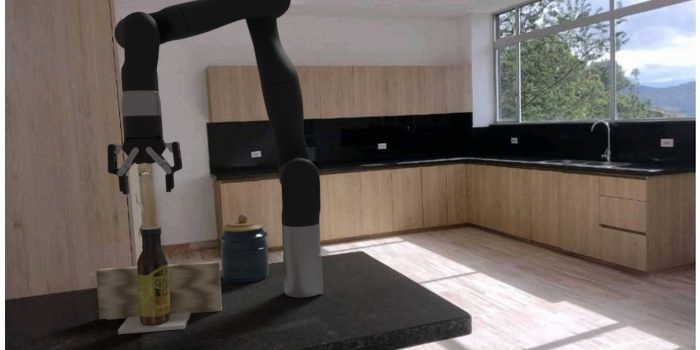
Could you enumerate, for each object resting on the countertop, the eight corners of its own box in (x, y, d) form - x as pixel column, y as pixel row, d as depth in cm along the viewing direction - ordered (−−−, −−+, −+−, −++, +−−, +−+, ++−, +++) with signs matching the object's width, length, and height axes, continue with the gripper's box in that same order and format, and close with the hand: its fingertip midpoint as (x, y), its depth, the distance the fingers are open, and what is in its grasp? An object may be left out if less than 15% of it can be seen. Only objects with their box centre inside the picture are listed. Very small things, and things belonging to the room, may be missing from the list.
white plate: (190, 315, 118) (190, 312, 118) (184, 328, 110) (184, 325, 110) (128, 320, 117) (128, 316, 116) (118, 334, 109) (117, 330, 109)
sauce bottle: (160, 327, 110) (154, 231, 108) (133, 325, 111) (126, 230, 109) (177, 315, 116) (171, 225, 114) (150, 314, 117) (145, 225, 116)
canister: (264, 283, 142) (261, 217, 140) (215, 284, 142) (212, 218, 141) (273, 270, 155) (270, 209, 153) (228, 271, 155) (225, 210, 154)
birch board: (221, 308, 122) (219, 261, 122) (221, 310, 121) (218, 262, 120) (102, 317, 119) (98, 268, 118) (99, 320, 117) (96, 270, 116)
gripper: (181, 113, 114) (185, 189, 116) (111, 115, 112) (116, 192, 114) (174, 112, 107) (179, 193, 108) (99, 114, 105) (105, 197, 106)
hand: (147, 193), depth 111 cm, fingers open, 8 cm apart
